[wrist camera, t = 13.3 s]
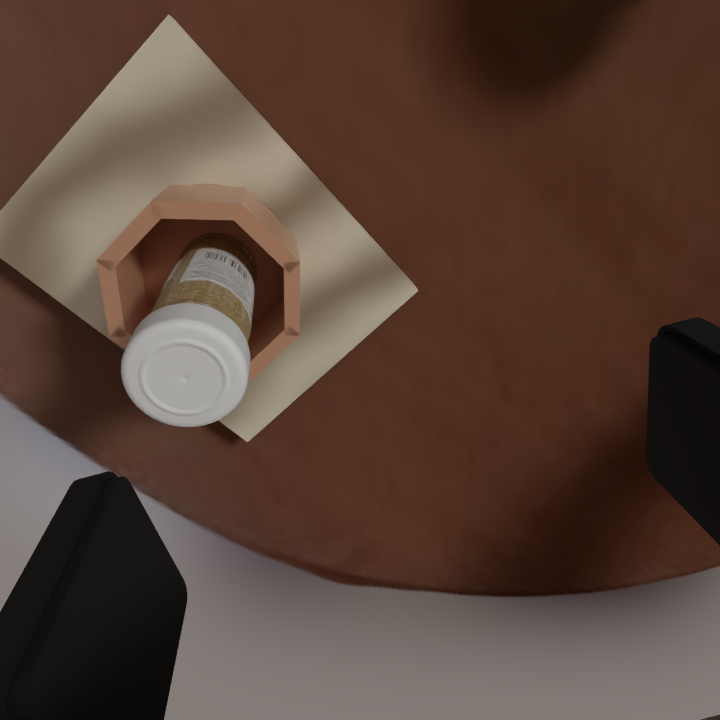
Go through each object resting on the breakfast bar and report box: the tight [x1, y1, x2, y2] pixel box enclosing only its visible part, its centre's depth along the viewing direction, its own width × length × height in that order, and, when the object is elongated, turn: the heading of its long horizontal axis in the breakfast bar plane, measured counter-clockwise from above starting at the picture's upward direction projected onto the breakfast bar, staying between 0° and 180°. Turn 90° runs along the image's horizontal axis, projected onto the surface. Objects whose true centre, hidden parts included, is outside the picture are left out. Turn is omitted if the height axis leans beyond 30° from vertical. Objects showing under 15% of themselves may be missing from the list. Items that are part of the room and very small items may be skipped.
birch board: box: [0, 15, 418, 442], centre depth 33 cm, size 20×16×2 cm
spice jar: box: [121, 234, 257, 427], centre depth 25 cm, size 5×5×13 cm
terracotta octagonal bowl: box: [96, 184, 300, 382], centre depth 29 cm, size 10×10×6 cm
